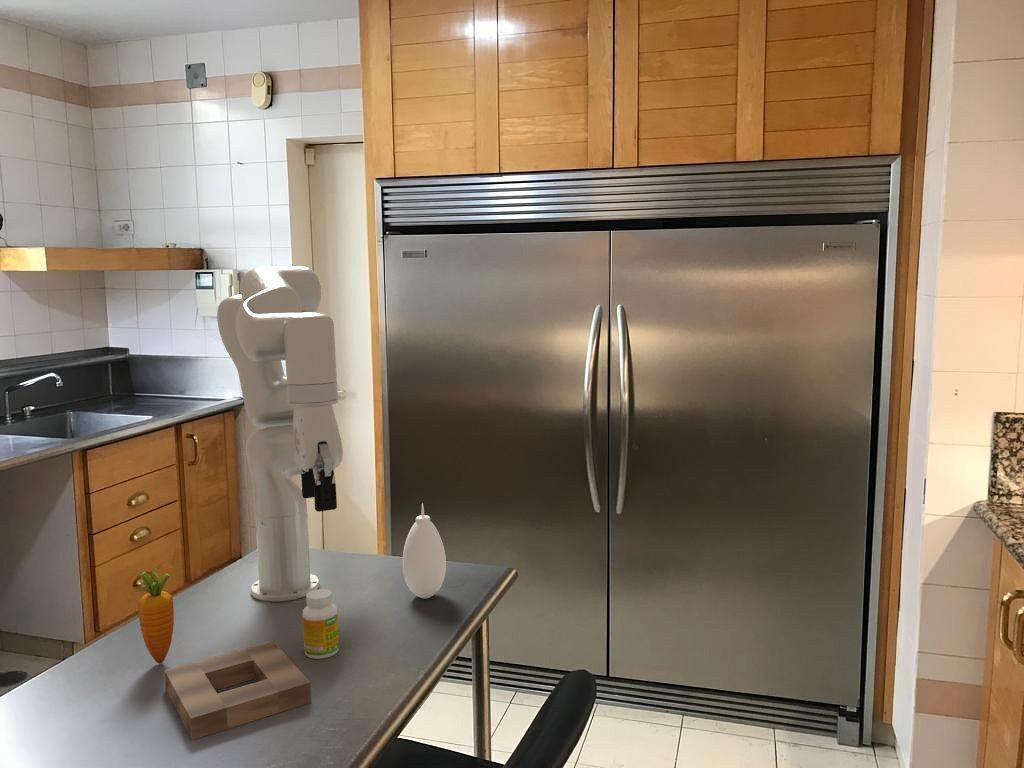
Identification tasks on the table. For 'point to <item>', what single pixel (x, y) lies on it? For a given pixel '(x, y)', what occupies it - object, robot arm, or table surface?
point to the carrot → (156, 616)
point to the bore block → (218, 712)
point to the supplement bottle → (320, 625)
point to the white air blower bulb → (424, 558)
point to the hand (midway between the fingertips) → (319, 503)
